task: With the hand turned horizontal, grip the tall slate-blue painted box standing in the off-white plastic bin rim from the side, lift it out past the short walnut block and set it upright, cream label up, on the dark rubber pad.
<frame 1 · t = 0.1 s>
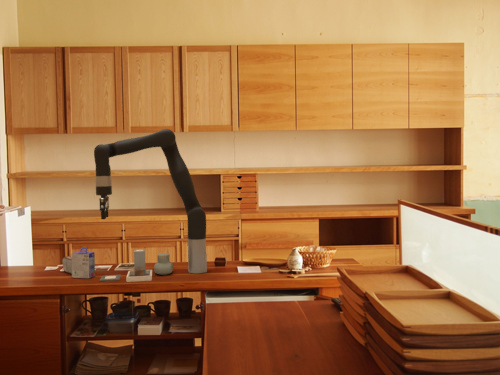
hand: (104, 218, 225), 29 cm above the table, tool pointing down, fingers open, 8 cm apart
label box: (140, 276, 226), resting in bin rim
pad: (110, 278, 223), on the table
tin: (71, 273, 235), on the table
ink cartridge box: (83, 277, 227), on the table
bin rim: (139, 277, 224), on the table
walnut block: (139, 279, 221), resting in bin rim
air freshener: (163, 274, 232), on the table
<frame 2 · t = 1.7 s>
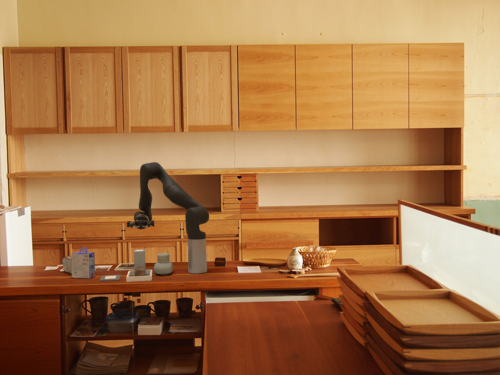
hand: (140, 225, 236), 24 cm above the table, tool horizontal, fingers open, 8 cm apart
nothing on the table moved.
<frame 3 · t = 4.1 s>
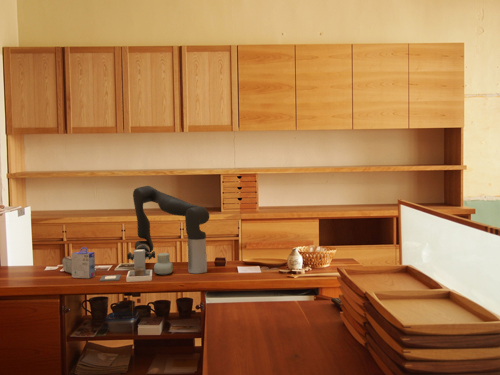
hand: (140, 258, 234), 7 cm above the table, tool horizontal, fingers open, 8 cm apart
nothing on the table moved.
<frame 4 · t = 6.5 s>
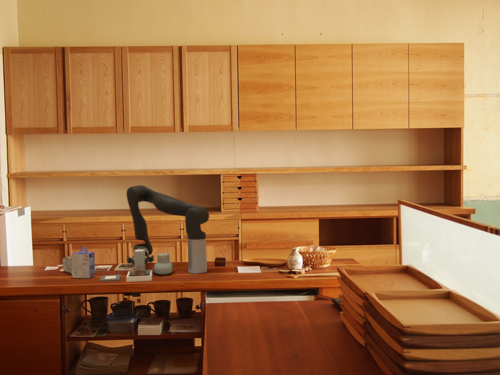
hand: (139, 262, 223), 8 cm above the table, tool horizontal, fingers closed on label box, 5 cm apart
label box: (140, 276, 226), resting in bin rim, touching gripper
everything else where it was.
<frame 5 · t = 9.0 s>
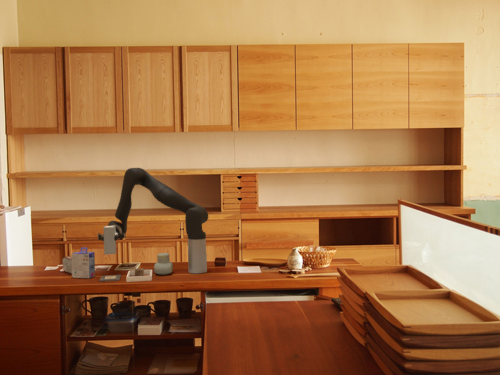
hand: (109, 238, 219), 20 cm above the table, tool horizontal, fingers closed on label box, 5 cm apart
label box: (110, 253, 222), point 12 cm above the table, touching gripper
everything else where it was.
when the fingers open (9 cm above the table, at t = 11.6 s): label box stays where it is, resting on pad.
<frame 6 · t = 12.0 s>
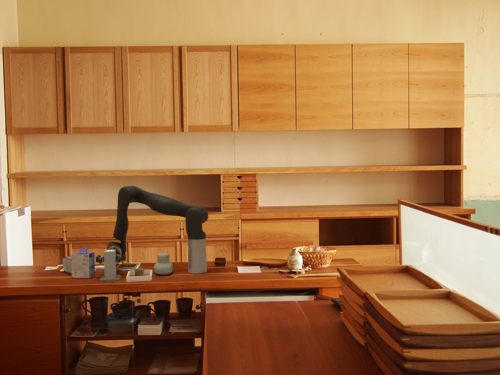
hand: (109, 261, 220), 9 cm above the table, tool horizontal, fingers open, 8 cm apart
label box: (110, 277, 223), point 1 cm above the table, touching pad
everything else where it was.
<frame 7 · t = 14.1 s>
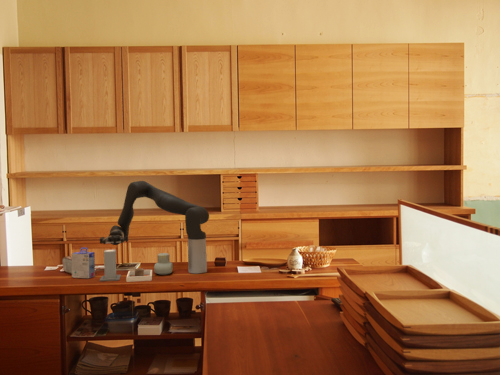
hand: (112, 241, 233), 16 cm above the table, tool horizontal, fingers open, 8 cm apart
nothing on the table moved.
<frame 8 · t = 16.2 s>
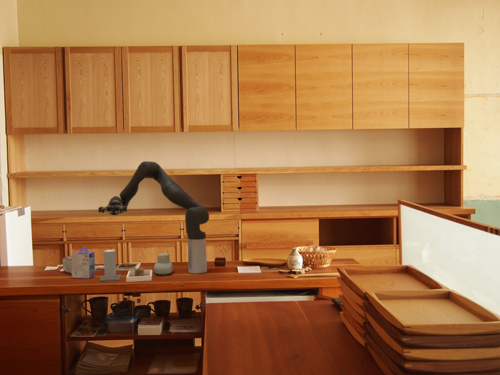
hand: (111, 210, 233), 32 cm above the table, tool horizontal, fingers open, 8 cm apart
nothing on the table moved.
at the end: label box inside the target area on the pad (0.1 cm from its centre), point 0.7 cm above the pad's base; label box tilted 0°; the gripper is holding nothing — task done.
